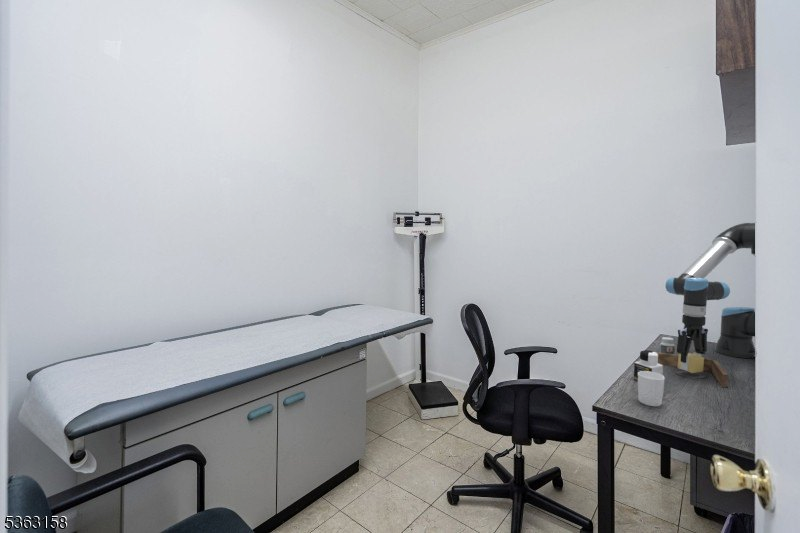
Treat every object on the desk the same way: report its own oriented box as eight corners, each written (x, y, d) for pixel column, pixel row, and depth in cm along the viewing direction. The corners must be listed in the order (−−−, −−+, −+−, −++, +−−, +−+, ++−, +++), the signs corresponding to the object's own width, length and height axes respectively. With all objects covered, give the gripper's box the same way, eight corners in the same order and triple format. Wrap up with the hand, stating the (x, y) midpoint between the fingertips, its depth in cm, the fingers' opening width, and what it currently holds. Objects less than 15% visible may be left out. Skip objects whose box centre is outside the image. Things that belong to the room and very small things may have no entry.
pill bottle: (676, 361, 171) (678, 340, 170) (663, 360, 172) (664, 339, 171) (670, 357, 176) (671, 337, 175) (657, 356, 177) (658, 336, 176)
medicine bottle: (633, 378, 151) (634, 350, 150) (644, 375, 154) (645, 348, 152) (651, 385, 144) (652, 355, 143) (662, 382, 147) (663, 353, 146)
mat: (703, 373, 156) (703, 372, 156) (708, 381, 147) (708, 381, 147) (673, 369, 161) (673, 368, 161) (677, 376, 152) (677, 376, 152)
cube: (688, 366, 157) (689, 353, 157) (703, 371, 151) (704, 357, 151) (677, 367, 156) (678, 354, 155) (692, 373, 150) (693, 358, 149)
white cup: (654, 409, 124) (655, 381, 124) (631, 399, 132) (632, 373, 131) (668, 404, 128) (669, 377, 127) (645, 395, 135) (646, 369, 134)
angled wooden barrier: (714, 370, 158) (715, 359, 158) (727, 387, 141) (728, 375, 141) (653, 362, 169) (653, 351, 169) (658, 377, 152) (658, 365, 152)
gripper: (685, 318, 145) (682, 374, 147) (720, 315, 150) (717, 370, 152) (667, 314, 153) (664, 368, 155) (701, 311, 158) (698, 363, 159)
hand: (690, 368), depth 153 cm, fingers closed on cube, 6 cm apart
